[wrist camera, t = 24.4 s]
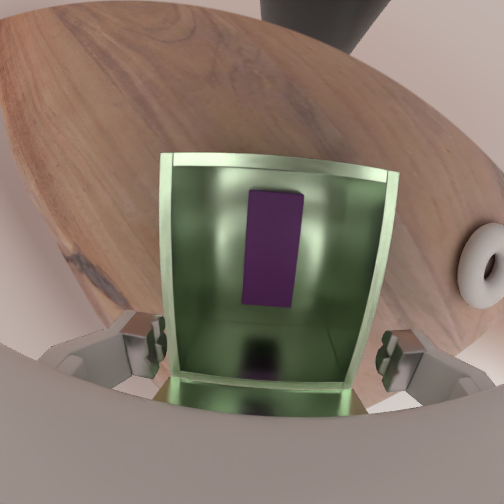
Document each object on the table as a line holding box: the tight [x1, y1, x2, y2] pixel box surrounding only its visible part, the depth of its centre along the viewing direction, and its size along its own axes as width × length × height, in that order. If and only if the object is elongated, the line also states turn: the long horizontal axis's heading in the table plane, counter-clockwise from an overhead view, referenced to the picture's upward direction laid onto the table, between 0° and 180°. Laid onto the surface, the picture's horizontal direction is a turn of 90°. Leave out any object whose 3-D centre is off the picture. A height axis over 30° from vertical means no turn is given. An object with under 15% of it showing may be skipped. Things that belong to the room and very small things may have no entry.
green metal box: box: [159, 152, 399, 390], centre depth 20 cm, size 16×14×9 cm
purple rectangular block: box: [242, 188, 304, 308], centre depth 22 cm, size 9×4×3 cm, turn 176°
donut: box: [457, 222, 504, 309], centre depth 22 cm, size 10×3×10 cm
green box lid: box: [152, 377, 368, 417], centre depth 10 cm, size 16×14×5 cm
